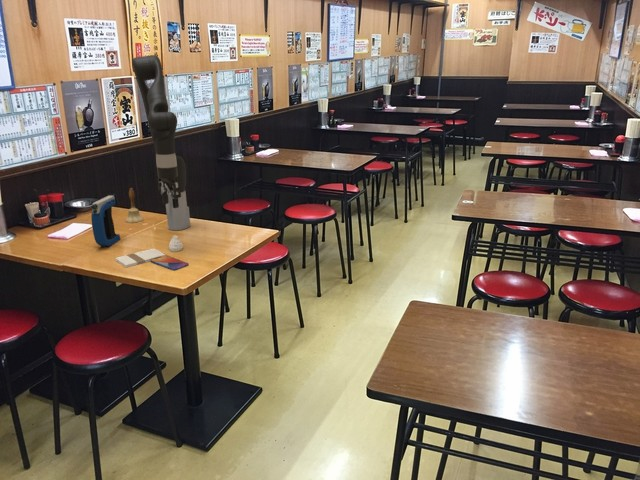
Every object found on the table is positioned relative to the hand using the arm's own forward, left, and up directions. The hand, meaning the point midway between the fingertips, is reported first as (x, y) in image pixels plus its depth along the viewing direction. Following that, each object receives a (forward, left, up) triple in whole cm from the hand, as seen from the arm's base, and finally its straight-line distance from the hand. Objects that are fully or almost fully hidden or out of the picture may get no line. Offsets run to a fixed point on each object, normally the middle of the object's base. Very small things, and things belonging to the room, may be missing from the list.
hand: (170, 205), depth 205 cm
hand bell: (-5, -51, -19) cm, 55 cm away
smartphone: (+9, +12, -19) cm, 24 cm away
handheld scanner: (+17, -26, -19) cm, 36 cm away
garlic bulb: (0, 0, -19) cm, 19 cm away
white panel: (+15, 0, -19) cm, 24 cm away
